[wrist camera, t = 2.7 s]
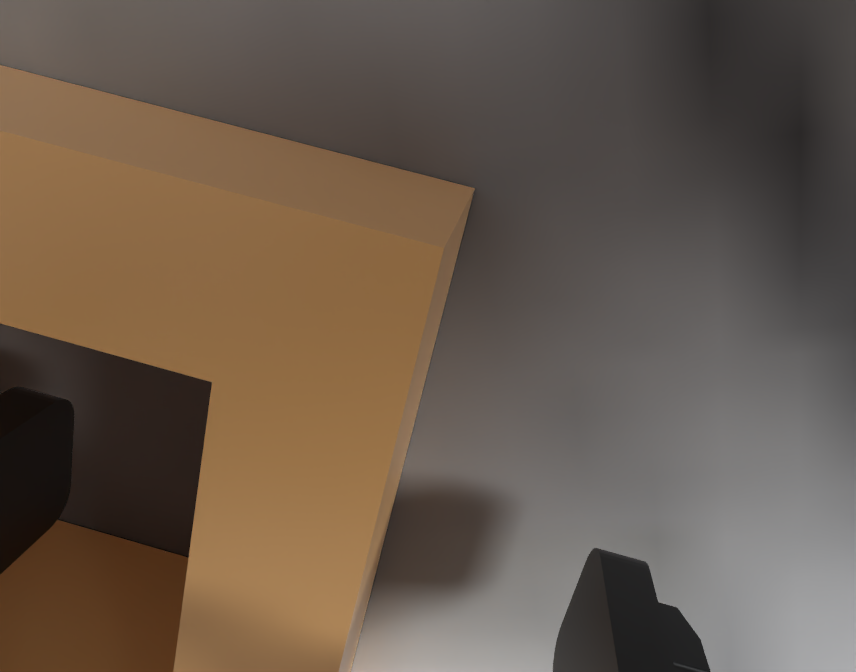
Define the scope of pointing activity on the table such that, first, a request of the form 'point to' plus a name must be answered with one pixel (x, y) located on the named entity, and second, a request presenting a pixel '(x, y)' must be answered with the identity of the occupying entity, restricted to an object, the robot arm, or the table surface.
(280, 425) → the ring
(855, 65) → the table surface
